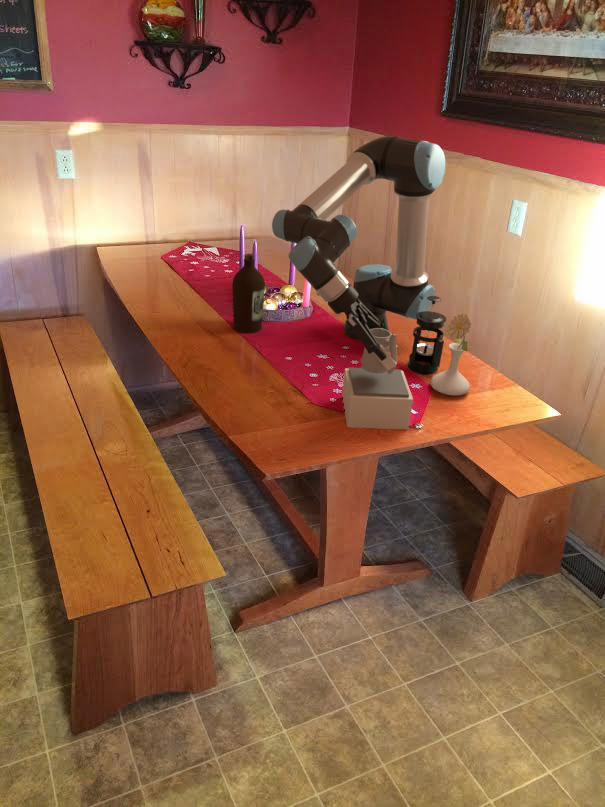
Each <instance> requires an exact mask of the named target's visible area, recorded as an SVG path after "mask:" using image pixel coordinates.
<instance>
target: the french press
mask: <svg viewBox="0 0 605 807" xmlns="http://www.w3.org/2000/svg"><path fill="white" fill-rule="evenodd" d="M427 299H428V300H430V301H432V304H431V305H432V307H431V311H429V310H428V311H423V312H419V313H417V314H416V318H417V319H416V324H417V327H415V328H413V333H412V336H413V344H412V346H411V353H410V354H409V356H408V362H407V369H408V370H409V371H411V372H413V373H415V374H419V375H424V376H425V375H434V374H436V373H437V372H438V371H439V368H440V365H441V361H442V360H441V359H442V356H443V355H442V354H443V349H444V343H445V341H444V332H443V331H442V330H441V329H442V328H443V327H444V326H445V323H446V321H447V317H446V316H445V315H444V314H442V313H439V312H436V311H434V307H435V304H436V302H441V301H442V298H441V297H440V296H436V295H434V296H428V297H427ZM422 331H427V334H426V335H427V336H426V337H425V336H422ZM430 332H432V333H433V332H434V333H436V337H429V334H430ZM421 341H422V342H421ZM424 342H425V343H424ZM431 343H434V344H431Z"/></svg>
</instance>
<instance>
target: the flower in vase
mask: <svg viewBox="0 0 605 807" xmlns="http://www.w3.org/2000/svg"><path fill="white" fill-rule="evenodd" d="M472 324H473V323H472V319H471V317H470V315H469V313H464V312H461V313H457V315H454V316H453V317H452V319H451V320H450V322H449V324H448V326H447V327H448V329H447V335H448V336H449V339H450V340H454V341H456V342H452V343H449V344H448V348H449V350H450V356H451V357H450V363H449V366H448V368H447V369H446V370H444V371H441V372H439V373H437V374H435V375H433V377H431V379H430V380H429V381H430V385H431V387H432V388H433V390H435V391H436V392H439V393H440V394H444V395H448V396H462V395H465V394H467V393H468V392H469V391H470V389H471V385H470V382H469V381H468V380H467V378H466V377H465V376H464V375H463V374H461V373H460V372H459V362H460V359H461V357H462V355H463V353H464V352H468V344H469V343H468V341H467V340H466V335H467V333H469V332H470V329H471V326H472ZM462 339H463V340H462Z"/></svg>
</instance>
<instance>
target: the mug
mask: <svg viewBox="0 0 605 807" xmlns="http://www.w3.org/2000/svg"><path fill="white" fill-rule="evenodd" d="M370 331H371V332H372V334H373V335H374V337H375V339H376V340H377V342H378V344H379V345H382V346H383V347H384V349H385V350H386V351H387V352H388V353H389V355H390V356H391V357H392V358H393V360H394V361H395V362H396V363H397V364H398V359H399V358H398V347H397V346H398V345H397V336H398V335H397V333H393V334H392V332H391V331H388V330H385V329H382V328H374V329H370ZM363 347H364V346H363ZM371 347H372V346H371ZM360 363H361V368H363V369H364V370H366V371H368V372H371V373H384V372H386V371H387V372H388V374H392V372H393V371H394V370H395V369H397V365H396V366H394V367H393V368H391V369H390V370H387V368H386V367H385V366H384V365H383V364H382V363H381V361H380V360H379V359H378V358H377V357H376V356H375V354H374V353H373V352H372V353H371V354H369V353H368V351H367V349H366V348H365V347H364V349H363V354H362V356H361V358H360Z"/></svg>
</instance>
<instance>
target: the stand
mask: <svg viewBox="0 0 605 807" xmlns="http://www.w3.org/2000/svg"><path fill="white" fill-rule="evenodd" d="M343 374H344V375H343V384H342V385H343V387H342V392H341V395H342V396H341V398H342V397H343V400H342V404H343V403H344V406H343V410H344V409H345V412H344V417H345V421H346V422H345V423H346V427H347V428H353V429H354V428H356V429H357V428H358V429H359V428H360V429H385V430H409V429H410V428H409V427H410V420H411V414H412V409H413V403H414V398H413V395H412V392H411V390H410V387H409V384H408V381H407V378H406V375H405V372H404V371H403V370H401V369H399V368H398V369H397V368H395V370H394V371H393V372H392V374H388V372H387V371H386V372H384V373H371V372H368V371H366V370H364V369H363V368H362V367H350V366H349V367H347V368H344V372H343Z"/></svg>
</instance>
